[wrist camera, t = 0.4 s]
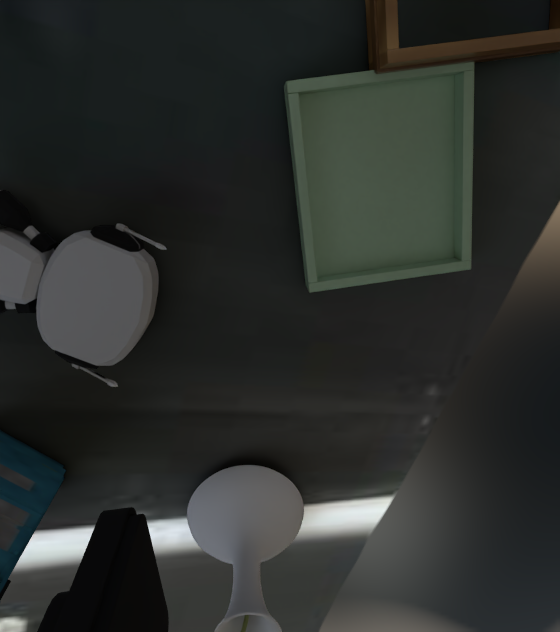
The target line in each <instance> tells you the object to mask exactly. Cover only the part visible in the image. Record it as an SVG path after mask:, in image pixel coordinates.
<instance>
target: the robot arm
mask: <svg viewBox="0 0 560 632" xmlns="http://www.w3.org/2000/svg"><path fill="white" fill-rule="evenodd" d="M168 624H169V622H168V610H167V605H166V601H165V597H164V593H163V589H162V584H161V580H160V576H159V572H158V567H157V563H156V559H155V555H154V551H153V546H152V542H151V538H150V534H149V529H148V525H147V521H146V517H145V515H144V514H138V515H137V514H136V511H135V509H134V508H132V507H130V508H123V509H115V510H107V511H103V512H102V513H101V514H100V516H99V518H98V521H97V523H96V526H95V528H94V531H93V533H92V536H91V538H90V541H89V543H88V546H87V548H86V551H85V553H84V556H83V558H82V561H81V563H80V566H79V568H78V571H77V573H76V576H75V578H74V581H73V583H72V586H71V588H70V591H67V592H61V593H58V594H57V595H56V596H55V597H54V598H53V599H52V601H51V603H50V605H49V606H48V608H47V611H46V613H45V615H44V618H43V620H42V622H41V624H40V627H39V629H38V631H37V632H168Z"/></svg>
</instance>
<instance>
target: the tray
mask: <svg viewBox="0 0 560 632" xmlns="http://www.w3.org/2000/svg"><path fill="white" fill-rule="evenodd" d="M284 93H285V102H286V111H287V120H288V129H289V138H290V147H291V156H292V165H293V174H294V183H295V192H296V201H297V210H298V219H299V228H300V237H301V246H302V255H303V264H304V273H305V282H306V287H307V289H308V291H309V292H317V291H324V290H331V289H338V288H345V287H352V286H358V285H365V284H372V283H379V282H386V281H393V280H400V279H407V278H414V277H420V276H427V275H434V274H441V273H448V272H455V271H462V270H469V269H471V239H472V179H473V118H474V62H468V63H460V64H453V65H445V66H437V67H429V68H421V69H414V70H406V71H398V72H390V73H382V74H376V73H374V70H370V71H362V72H354V73H346V74H339V75H331V76H323V77H315V78H307V79H299V80H292V81H286V83H285V85H284Z"/></svg>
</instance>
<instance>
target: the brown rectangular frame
mask: <svg viewBox="0 0 560 632" xmlns="http://www.w3.org/2000/svg"><path fill="white" fill-rule="evenodd" d="M365 3H366V22H367V40H368V59H369V71H370V70H374V73H376V74H382V73H390V72H398V71H406V70H414V69H421V68H429V67H437V66H445V65H453V64H460V63H468V62H474V63H477V62H485V61H493V60H501V59H508V58H516V57H524V56H532V55H540V54H547V53H555V52H559V51H560V0H551V3H550V19H549V30H543V31H535V32H527V33H519V34H511V35H503V36H495V37H488V38H480V39H472V40H464V41H456V42H448V43H440V44H432V45H424V46H416V47H408V48H401V49H399V38H398V7H397V0H365Z"/></svg>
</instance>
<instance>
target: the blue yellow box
mask: <svg viewBox="0 0 560 632" xmlns="http://www.w3.org/2000/svg"><path fill="white" fill-rule="evenodd" d="M63 467H64V465H62V464H60V463H59V462H57V461H55V460H53V459H51V458H49V457H48V456H46V455H44V454H42V453H40V452H39V451H37V450H35V449H33V448H31V447H30V446H28V445H26V444H24V443H22V442H21V441H19V440H17V439H15V438H13V437H12V436H10V435H8V434H6V433H4V432H2V431H1V430H0V600H1V598H2V596H3V595H4V593H5V591H6V589H7V587H8V585H9V584H10V582H11V581H10V580H8V578H9V576H10V574H11V572H12V571H13V569H14V567H15V565H16V564H17V562H18V560H19V558H20V556H21V555H22V553H23V551H24V549H25V548H26V546H27V544H28V542H29V540H30V539H31V537H32V535H33V533H34V532H35V530H36V528H37V526H38V524H39V523H40V521H41V519H42V517H43V515H44V514H45V512H46V510H47V508H48V507H49V505H50V503H51V501H52V499H53V498H54V496H55V494H56V492H57V491H58V489H59V487H60V485H61V483H62V482H63V480H64V478H65V477H63V476H64V473H65V471H66V470H65V469H63ZM0 602H1V601H0Z"/></svg>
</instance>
